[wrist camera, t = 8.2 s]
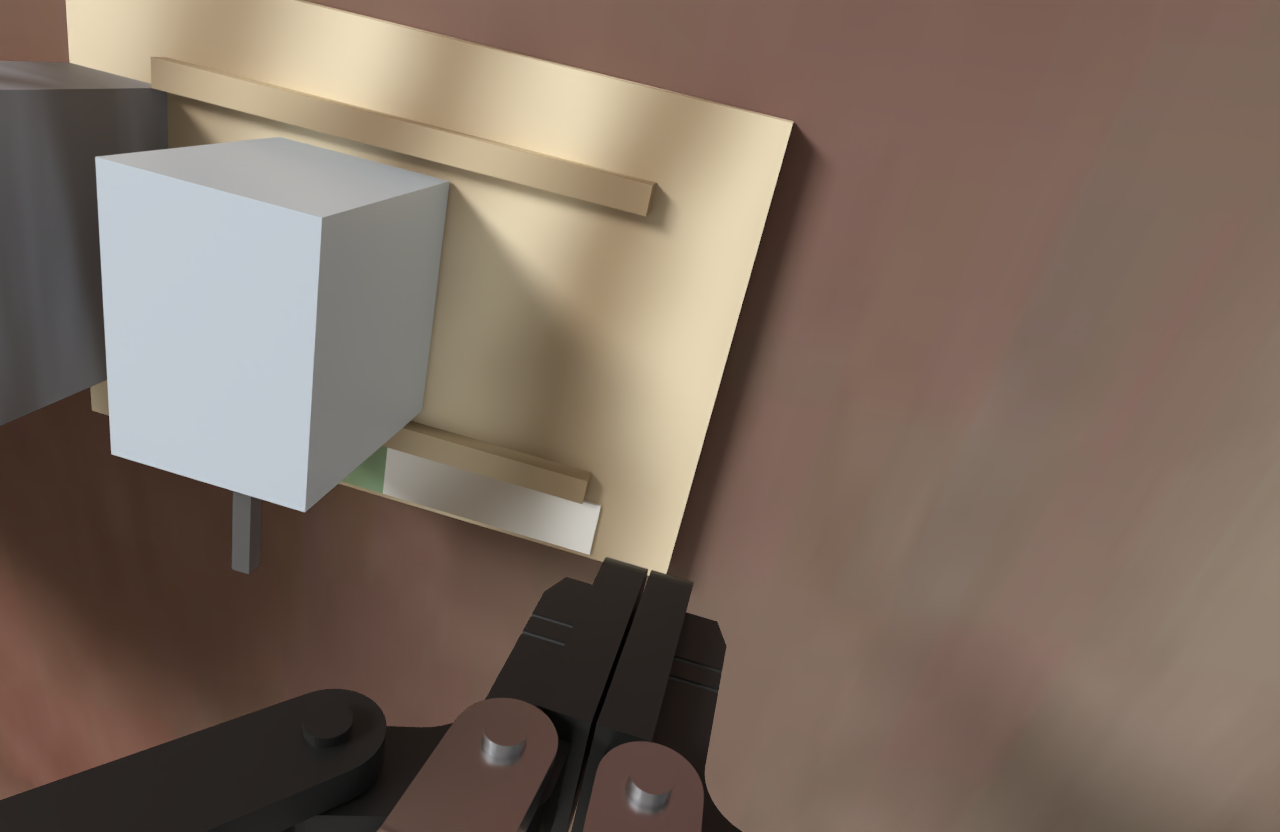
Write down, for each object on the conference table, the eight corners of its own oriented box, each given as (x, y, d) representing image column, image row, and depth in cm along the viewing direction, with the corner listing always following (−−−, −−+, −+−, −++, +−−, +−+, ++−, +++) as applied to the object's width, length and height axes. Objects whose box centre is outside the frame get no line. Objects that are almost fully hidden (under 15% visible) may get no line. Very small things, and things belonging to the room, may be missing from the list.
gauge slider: (449, 181, 22) (322, 218, 16) (410, 507, 27) (298, 629, 21) (213, 119, 23) (7, 133, 17) (212, 448, 27) (47, 551, 21)
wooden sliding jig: (793, 121, 21) (788, 142, 14) (669, 563, 27) (619, 743, 20) (91, -52, 23) (-243, -113, 16) (114, 399, 28) (-123, 510, 21)
